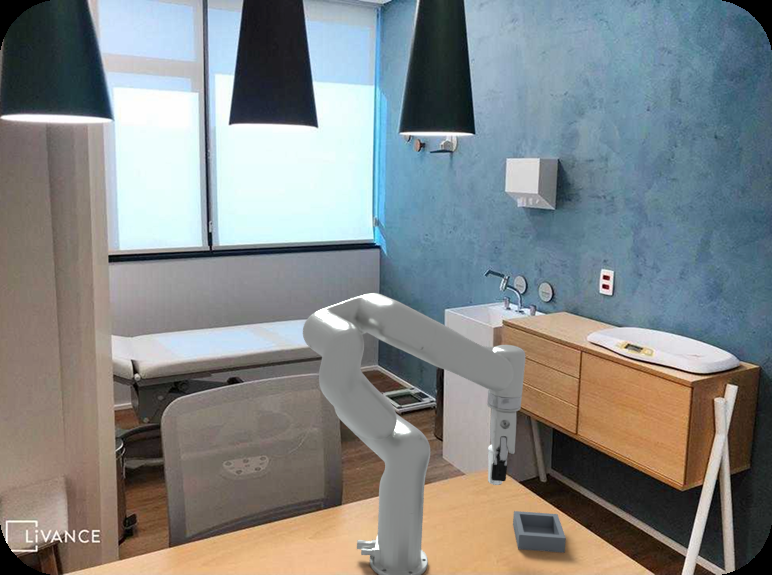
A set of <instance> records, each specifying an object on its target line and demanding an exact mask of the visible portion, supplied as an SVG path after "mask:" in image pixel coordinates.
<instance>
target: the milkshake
mask: <svg viewBox="0 0 772 575" xmlns="http://www.w3.org/2000/svg"><path fill="white" fill-rule="evenodd" d="M497 450H500V449H498V448H497ZM487 451H488V452H487V453H488V454H487V456H488V458H487V459H488V460H487V462H488V464H487V467H488V468H487V482H488V483H489V484H491V485H493V486H501V485H502V484H503V481H494V480H492V478H491V477H492V465H493V463H494V456H495V452H494V451H493V450H492V445H491V444H490V445H488V448H487ZM508 455H509V454H507V456H508ZM498 456H500V454H497V458H498Z"/></svg>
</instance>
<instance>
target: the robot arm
mask: <svg viewBox="0 0 772 575" xmlns="http://www.w3.org/2000/svg"><path fill="white" fill-rule="evenodd" d="M365 334H369V335H371V336H372V337H375V338H376V339H378V340H379V341H381V342H383V343H386V344H388V345H390V346H392V347H394V348H396V349H399V350H401V351H402V352H405V353H407V354H410V355H412V356H414V357H416V358H418V359H420V360H421V361H424V362H426V363H428V364H429V365H433V366H434V367H437V368H439V369H441V370H445V371H447V372H451V373H453V374H455V375H457V376H460V377H461V378H464V379H466V380H468V381H470V382H472V383H474V384H477V385H479V386H480V387H483V388H485V389H487V402H486V404H487V407H489V408H490V409H491V411H490V412H491V413H490V414H491V415H490V425H489V428H490V429H489V436H490V437H489V438H490V445H492V450H493V451H494V452H495V456H494V463H493V465H492V477H491V478H492V480H494V481H502V482H505V481H506V480H507V470H508V455H509V454H511V455H514V454H515V451H516V449H515V448H516V435H517V412H518V411H520V410H521V409H522V408H521V407H522V399H523V398H522V397H523V387H524V377H525V369H526V368H525V367H526V366H525V365H526V352H525V350H524V349H522V348H521V347H519V346H517V345H511V344H499V345H495V346H485V345H481V344H478V342H475V341H473V340H471V339H469V338H468V337H466V336H464V335H462V334H461V333H459V332H457V331H456V330H454V329H452V328H451V327H449V326H447V325H445V324H443V323H441V322H439V321H437V320H435V319H433V318H431V317H429V316H428V315H425V314H424V313H421V312H420V311H418V310H416V309H413V307H412V308H411V307H410V306H408V305H406V304H404V303H402V302H400V301H398V300H396V299H393V298H390V297H388V296H386V295H383V294H381V293H377V292H371V293H365V294H363V295H362V294H361V295H359V296H355V297H351V298H350V299H347V300H344V301H341V302H339V303H336V304H333V305H330V306H327V307H326V306H325V307H324V308H321V309H319V310H316V311H315V312H313V313H312V314H311V315H310V316H309V317H307V319H306V320H305V322H304V324H303V327H302V336H303V339H304V342H305V344H306V345H307V346H308V347H309V348H310V349H311V350H312V351H313V352H315V353H316V354H318V355H319V356H320V357H321V362H320V366H319V370H318V371H319V372H318V385H319V389H320V391H321V393H322V394H323V396H324V397H325V399H326V400H327V401H328V402H329V403H330V404H331V405H332V406H333V408H334V412H335V414H336V415H337V417H338V419H339V420H340V421H341V422H342V423H343V424H344V425H345V426H346V427H347V428H348V429H349V430H350V431H351V432H352V433H353V434H354V435H355V436H356V437H358V438H359V439H360V441H362V443H364V445H365V446H367V447H368V448H369V449H370V450H371V451H372V452H374V454H376V456H378V457H379V458H380V459H381V460H382V461H383V462H384V466H385V468H384V471H383V473H382V475H381V478H380V481H379V488H378V489H379V490H378V513H377V514H378V519H377V535H376V539H372V540H365V539H364V540H363V539H357V541H356V550H360V556H369V566H370V567H371V569H372V570H373V571H374V572H375V573H376V574H378V575H422V574H423V573H425V571H426V570H427V568H428V561H429V559H428V555H427V554H426V553H425V551H423V549H422V543H423V542H422V540H423V523H424V522H423V519H424V501H425V498H424V497H425V496H424V495H425V483H426V476H427V470H428V466H429V462H430V458H431V446H430V442H429V439H428V438H427V436H426V435H425V434H424V433H423V432H422V431H421V430H420V429H419V428H417V427H416V426H414V425H413V424H412V423H410V422H409V421H407V420H406V419H405V418H403V417H401V416H400V415H399V414H398V413H397V412H396V409H395V408H394V406H393V404H392V402H391V401H390V400H389V399H388V398H387V397H386V396H385V395H384V394H383V393H382V392H381V391H379V389H378V388H376V387H375V385H373V383H371V381H369V379H368V378H367V376H365V374H364V373H363V372H362V368H361V367H362V366H361V364H362V359H363V355H364V352H365V351H364V349H365V341H364V336H363V335H365ZM497 448H498V449H500V450H497ZM508 453H509V454H508ZM497 454H500V456H498V458H497ZM507 454H508V455H507Z"/></svg>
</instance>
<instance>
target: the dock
mask: <svg viewBox="0 0 772 575" xmlns="http://www.w3.org/2000/svg"><path fill="white" fill-rule="evenodd" d="M512 519H513V520H512V526H513V527H512V528H513V531H514V536H515V540H516V545H517V549H518V550H526V551H537V552H538V551H539V552H552V553H553V552H554V553H563V554H564V553H565V551H566V550H565V549H566V539H567V537H566V534H565V532H564V529H563V526H562V524H561V520H560V518H559V514H557V513H547V512H533V511H518V510H514V511H513V518H512Z"/></svg>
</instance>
